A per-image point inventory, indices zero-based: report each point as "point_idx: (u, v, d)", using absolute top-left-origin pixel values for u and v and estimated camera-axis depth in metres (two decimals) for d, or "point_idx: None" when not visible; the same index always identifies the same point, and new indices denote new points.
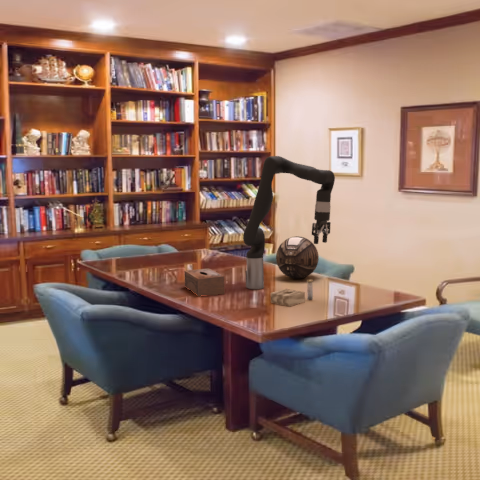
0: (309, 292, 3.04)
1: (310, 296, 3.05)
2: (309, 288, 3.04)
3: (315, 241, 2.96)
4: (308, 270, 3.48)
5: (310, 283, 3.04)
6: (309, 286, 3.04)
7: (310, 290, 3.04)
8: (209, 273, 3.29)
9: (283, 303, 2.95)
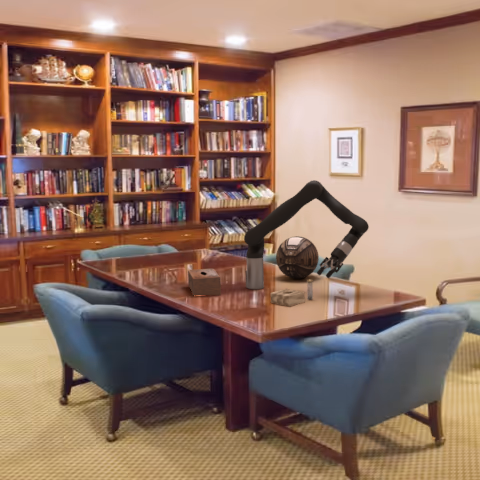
0: (309, 292, 3.04)
1: (310, 296, 3.05)
2: (309, 288, 3.04)
3: (329, 275, 3.03)
4: (308, 270, 3.48)
5: (310, 283, 3.04)
6: (309, 286, 3.04)
7: (310, 290, 3.04)
8: (209, 273, 3.29)
9: (283, 303, 2.95)
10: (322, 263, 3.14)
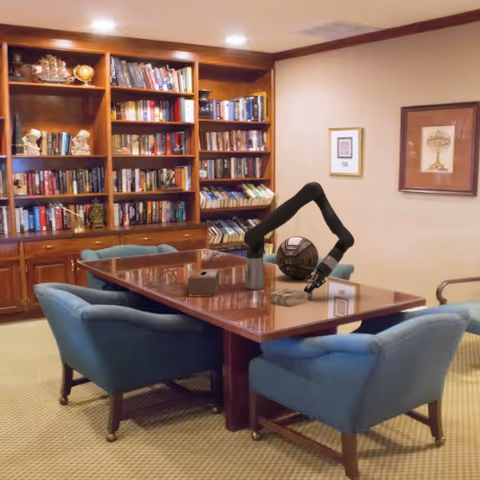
0: None
1: (310, 296, 3.05)
2: None
3: (310, 291, 3.03)
4: (308, 270, 3.48)
5: (310, 283, 3.04)
6: (309, 286, 3.04)
7: None
8: (208, 273, 3.28)
9: (283, 303, 2.95)
10: None
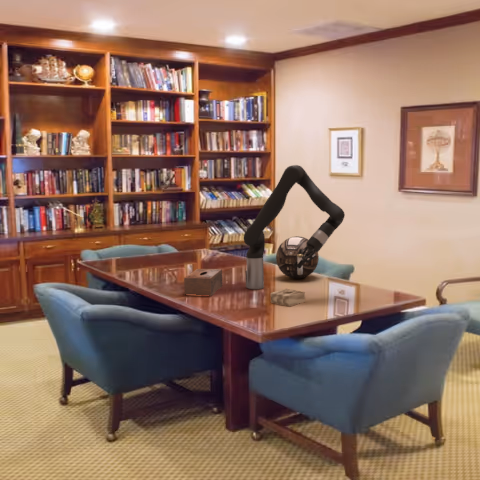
0: None
1: (300, 271, 3.01)
2: None
3: (300, 266, 2.99)
4: (308, 270, 3.48)
5: (300, 257, 3.00)
6: (299, 261, 3.00)
7: None
8: (207, 274, 3.28)
9: (283, 303, 2.95)
10: None
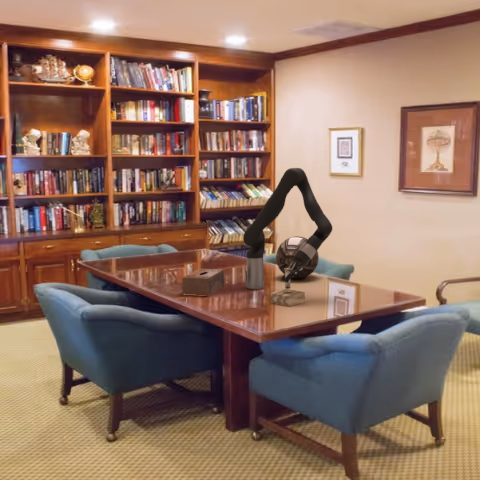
0: None
1: (288, 285, 2.98)
2: None
3: (288, 280, 2.97)
4: (308, 270, 3.48)
5: (287, 271, 2.97)
6: (286, 275, 2.98)
7: None
8: (207, 274, 3.28)
9: (283, 303, 2.95)
10: None
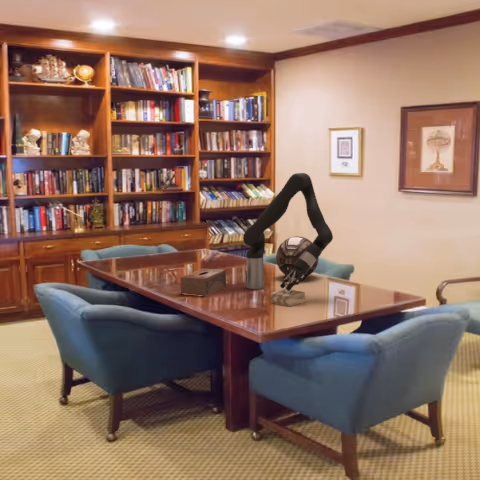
0: None
1: None
2: (287, 291, 2.99)
3: (290, 288, 2.96)
4: None
5: None
6: None
7: (288, 293, 2.99)
8: (206, 274, 3.27)
9: (283, 303, 2.95)
10: (286, 275, 3.04)
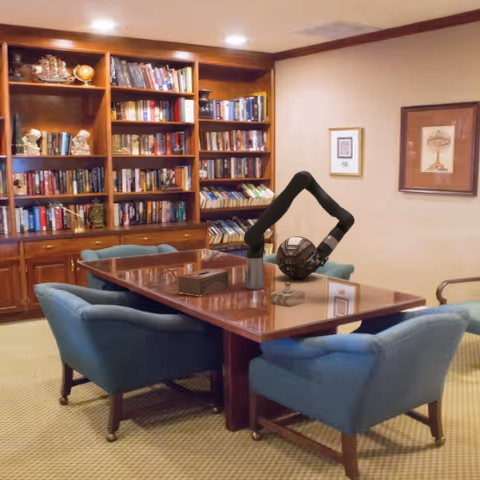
0: None
1: None
2: (287, 291, 2.99)
3: (315, 270, 2.99)
4: (308, 270, 3.48)
5: (288, 286, 2.99)
6: (287, 289, 2.99)
7: (288, 293, 2.99)
8: (205, 274, 3.27)
9: (283, 303, 2.95)
10: (308, 258, 3.10)
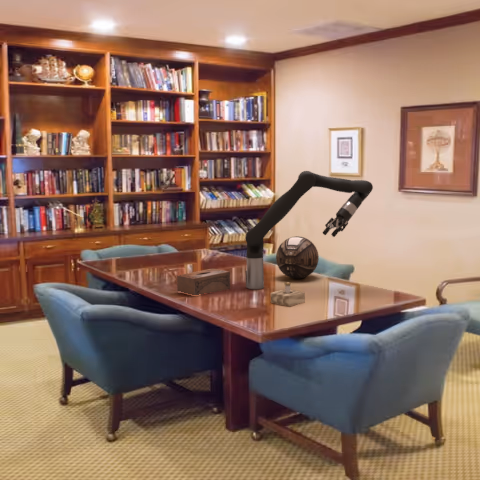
0: None
1: None
2: (287, 291, 2.99)
3: (335, 234, 3.12)
4: (308, 270, 3.48)
5: (288, 286, 2.99)
6: (287, 289, 2.99)
7: (288, 293, 2.99)
8: (204, 274, 3.27)
9: (283, 303, 2.95)
10: (328, 223, 3.23)
